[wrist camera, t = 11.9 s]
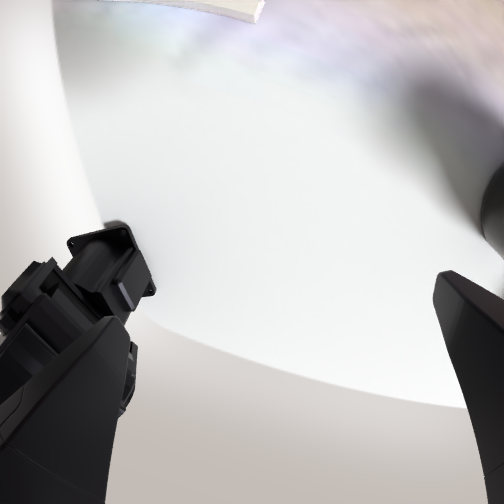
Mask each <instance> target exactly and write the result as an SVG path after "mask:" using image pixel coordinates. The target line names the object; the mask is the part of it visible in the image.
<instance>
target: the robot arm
mask: <svg viewBox="0 0 504 504" xmlns="http://www.w3.org/2000/svg"><path fill="white" fill-rule="evenodd" d="M122 230H124V231H125V232H126V233H123V231H122ZM71 242H72V243H73V244H72V243H71ZM67 246H68V248H69V250H70V252H71V254H72V256H73V258H72V259H71V261H70V262H69V263H68V264H67V265H66V267H65V268H64V269H63V270H61V269H60V268H59V266H58V265H57V262H56V261H55V259H54V258H53V257H52V258H51V259H50V260H49V261H48V262H47V263H45V262H43V263H39V262H36V261H33V262H32V263H31V264H30V266H28V268H27V269H26V270H25V271H24V272H23V273H22V274H21V275H20V277H18V278H17V279H16V281H15V282H14V283H13V284H12V285H11V286H10V287H9V288H8V290H7V291H6V292H5V293H4V294H3V295H2V311H1V312H0V332H1V335H0V504H105V498H106V490H107V482H108V475H109V467H110V461H111V454H112V448H113V442H114V437H115V431H116V426H117V421H118V418H119V417H120V416H121V415H122V414H123V413H124V412H125V411H126V407H127V405H128V404H129V402H130V400H131V398H132V396H133V393H134V390H135V380H136V364H137V350H138V346H137V345H136V344H135V343H134V342H132V341H130V336H129V334H128V332H127V331H126V330H125V327H124V325H125V323H126V321H127V319H128V317H129V315H130V313H131V312H132V311H135V309H136V307H137V305H138V303H139V301H140V299H141V297H148V296H153V295H154V294H155V292H156V287H155V285H154V283H153V280H152V278H151V277H152V276H151V273H150V271H149V269H148V267H147V264H146V262H145V260H144V257H143V255H142V253H141V251H140V250H139V248H138V246H137V244H136V241H135V239H134V236H133V234H132V231H131V229H130V227H129V226H127V225H120V226H115V227H111V228H107V229H103V230H99V231H95V232H90V233H87V234H83V235H79V236H75V237H71V238H70V239H69V240H68V241H67ZM149 289H150V290H152V291H150V290H149ZM433 304H434V308H435V311H436V314H437V317H438V320H439V324H440V327H441V330H442V334H443V337H444V341H445V344H446V347H447V351H448V353H449V356H450V359H451V362H452V364H453V367H454V370H455V373H456V375H457V378H458V381H459V384H460V387H461V390H462V393H463V396H464V399H465V402H466V405H467V409H468V412H469V415H470V419H471V422H472V426H473V429H474V433H475V437H476V441H477V445H478V450H479V454H480V459H481V463H482V467H483V473H484V476H485V477H484V479H485V485H486V491H487V498H488V504H504V300H503V299H501V298H500V297H498V296H496V295H495V294H493V293H491V292H490V291H488V290H486V289H484V288H483V287H481V286H479V285H477V284H476V283H474V282H472V281H470V280H469V279H467V278H465V277H463V276H461V275H460V274H458V273H456V272H454V271H452V270H449V271H444V272H440V273H439V274H438V275H437V278H436V283H435V288H434V293H433Z"/></svg>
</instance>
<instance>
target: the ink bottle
mask: <svg viewBox="0 0 504 504" xmlns="http://www.w3.org/2000/svg"><path fill="white" fill-rule="evenodd" d="M482 228H483V232H484V235H485V238H486V240H487V241H488V243H489V244H490V246H491V247H492V248H493V249H494V250H495V251H496V252H497V253H498V254H499V255H500V256H501V257H502V258H503V259H504V166H503V167H502V168H501V169H500V170H499V172H498V173H497V174H496V176H495V177H494V179H493V181H492V182H491V184H490V186H489V188H488V190H487V193H486V195H485V198H484V202H483V207H482Z"/></svg>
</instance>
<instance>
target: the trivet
mask: <svg viewBox="0 0 504 504" xmlns="http://www.w3.org/2000/svg"><path fill="white" fill-rule="evenodd" d="M101 1H129V2H142V3H152V4H161V5H169V6H176V7H182V8H188V9H194V10H199V11H204V12H209V13H214V14H218V15H222V16H227V17H231V18H235V19H238V20H242V21H246V22H249V23H253V24H256V22H257V20H258V17H259V15H260V13H261V10H262V8H263V6H264V3H265V1H266V0H101Z"/></svg>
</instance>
